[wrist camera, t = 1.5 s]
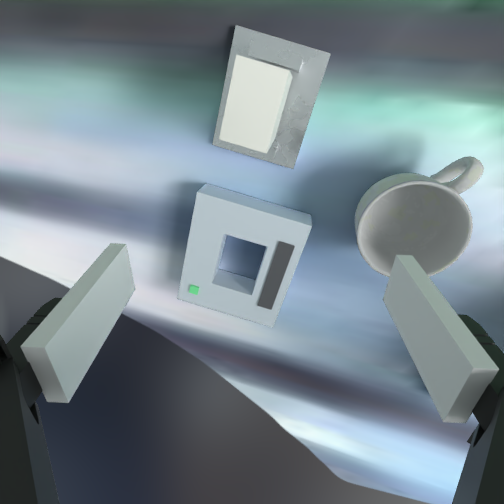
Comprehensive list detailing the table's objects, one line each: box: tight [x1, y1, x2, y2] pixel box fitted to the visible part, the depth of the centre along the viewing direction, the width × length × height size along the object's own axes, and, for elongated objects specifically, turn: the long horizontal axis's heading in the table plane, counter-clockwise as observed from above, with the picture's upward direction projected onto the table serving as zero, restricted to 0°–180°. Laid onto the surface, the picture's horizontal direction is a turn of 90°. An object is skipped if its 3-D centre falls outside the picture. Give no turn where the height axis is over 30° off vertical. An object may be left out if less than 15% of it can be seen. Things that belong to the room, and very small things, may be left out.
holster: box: [212, 25, 330, 169], centre depth 33 cm, size 10×12×5 cm
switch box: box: [177, 183, 312, 328], centre depth 42 cm, size 14×16×4 cm
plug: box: [219, 55, 292, 154], centre depth 30 cm, size 4×6×12 cm, turn 165°
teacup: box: [355, 157, 484, 277], centre depth 35 cm, size 14×11×8 cm
